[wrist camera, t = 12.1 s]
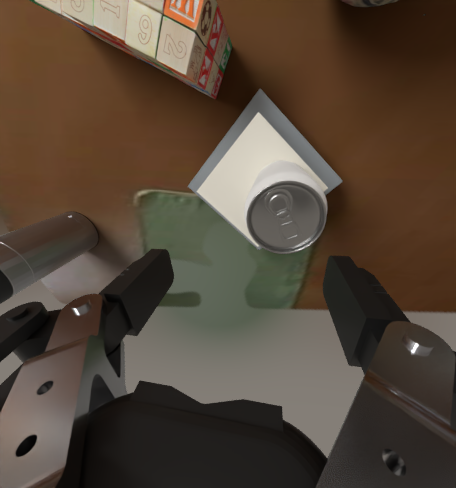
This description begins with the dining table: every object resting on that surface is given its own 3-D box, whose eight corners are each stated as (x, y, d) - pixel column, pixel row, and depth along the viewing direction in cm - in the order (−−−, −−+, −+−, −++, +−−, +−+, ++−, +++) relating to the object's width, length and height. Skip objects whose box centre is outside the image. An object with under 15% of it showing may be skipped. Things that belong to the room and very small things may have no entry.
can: (297, 149, 22) (319, 155, 12) (313, 200, 24) (343, 244, 14) (246, 174, 25) (226, 197, 14) (265, 219, 27) (259, 267, 16)
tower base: (259, 240, 37) (257, 262, 30) (196, 181, 34) (177, 192, 27) (334, 176, 30) (354, 187, 23) (261, 94, 27) (258, 78, 20)
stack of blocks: (81, 30, 27) (-39, -40, 17) (82, -35, 24) (-65, -173, 14) (216, 100, 28) (185, 76, 18) (234, 45, 25) (209, -25, 14)
